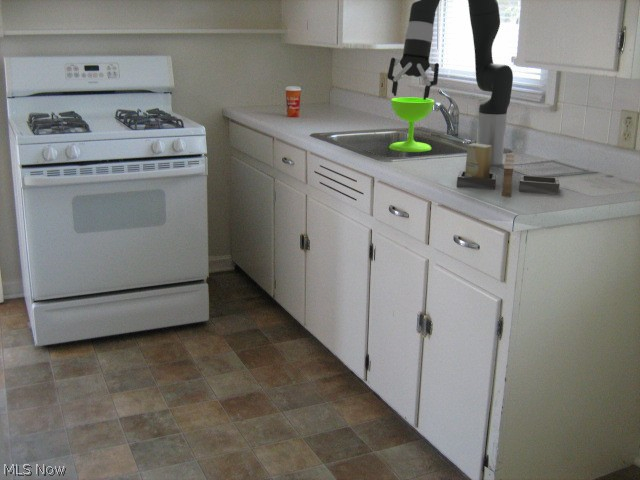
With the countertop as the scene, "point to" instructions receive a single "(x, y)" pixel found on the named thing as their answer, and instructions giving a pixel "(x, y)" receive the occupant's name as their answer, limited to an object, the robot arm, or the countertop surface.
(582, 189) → the countertop surface
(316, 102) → the countertop surface
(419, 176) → the countertop surface
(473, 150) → the skincare box
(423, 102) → the wineglass
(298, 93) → the paper cup
